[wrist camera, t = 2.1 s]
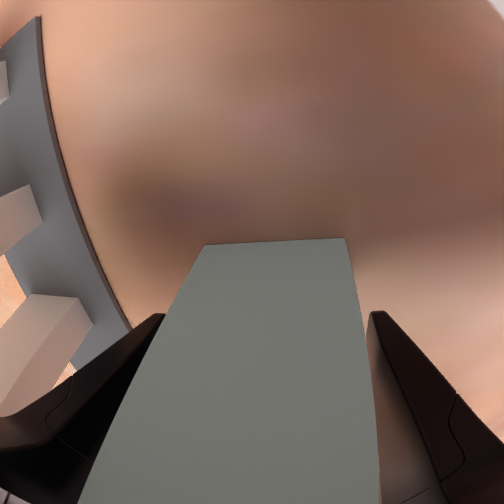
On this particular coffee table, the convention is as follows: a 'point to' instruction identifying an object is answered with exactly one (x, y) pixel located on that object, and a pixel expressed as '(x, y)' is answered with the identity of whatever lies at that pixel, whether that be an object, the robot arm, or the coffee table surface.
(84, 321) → the ivory domino
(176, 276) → the coffee table surface
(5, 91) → the ivory end domino
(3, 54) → the mat
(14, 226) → the ivory domino
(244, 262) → the teal domino
